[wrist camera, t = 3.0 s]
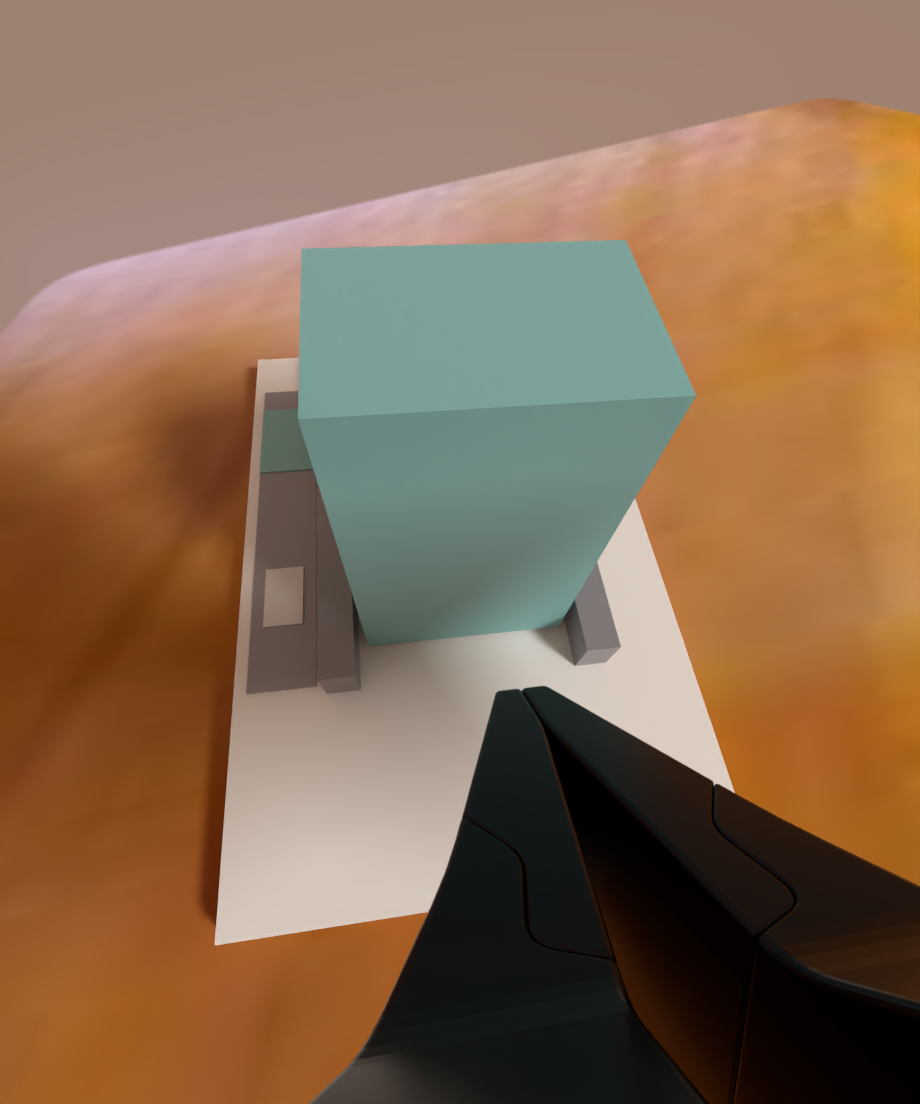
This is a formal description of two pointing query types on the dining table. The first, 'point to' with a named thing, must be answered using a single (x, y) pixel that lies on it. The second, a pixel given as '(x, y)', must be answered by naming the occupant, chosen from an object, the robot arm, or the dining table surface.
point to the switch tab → (479, 423)
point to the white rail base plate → (399, 705)
